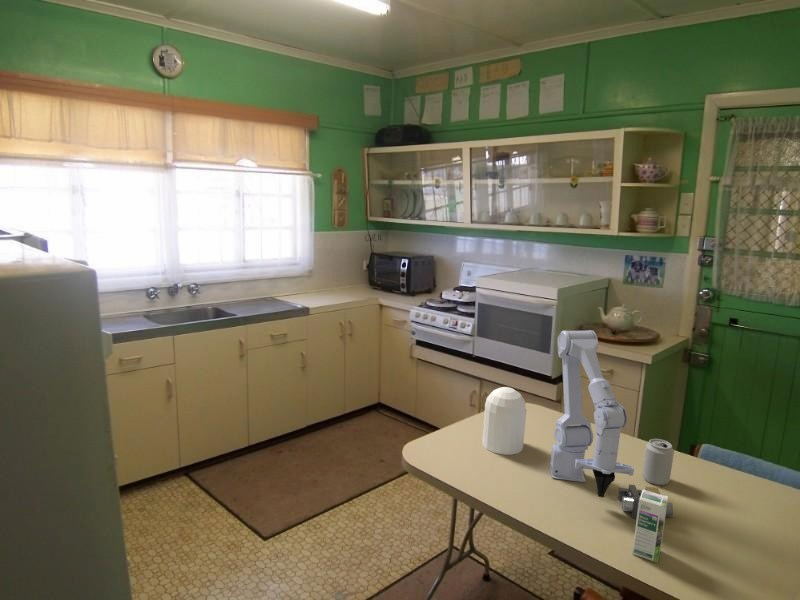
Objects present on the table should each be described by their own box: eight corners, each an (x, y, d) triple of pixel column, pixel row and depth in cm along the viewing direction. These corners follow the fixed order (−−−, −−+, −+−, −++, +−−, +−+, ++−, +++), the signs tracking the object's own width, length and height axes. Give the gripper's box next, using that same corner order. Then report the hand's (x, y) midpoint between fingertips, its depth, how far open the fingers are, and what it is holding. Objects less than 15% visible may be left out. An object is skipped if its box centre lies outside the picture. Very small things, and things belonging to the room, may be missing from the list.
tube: (623, 513, 144) (625, 501, 143) (620, 505, 147) (622, 493, 147) (672, 520, 142) (674, 507, 141) (667, 511, 145) (669, 499, 144)
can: (672, 488, 157) (678, 450, 155) (644, 484, 159) (650, 447, 156) (665, 475, 164) (670, 438, 162) (639, 472, 166) (644, 435, 163)
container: (474, 445, 179) (478, 388, 175) (494, 432, 190) (498, 378, 186) (511, 459, 171) (516, 399, 167) (529, 444, 182) (535, 388, 177)
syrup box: (631, 554, 128) (638, 499, 125) (635, 541, 133) (642, 487, 130) (657, 563, 125) (666, 507, 122) (660, 549, 130) (668, 495, 127)
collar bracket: (625, 517, 142) (628, 498, 141) (617, 497, 152) (620, 478, 151) (666, 523, 140) (669, 503, 139) (655, 502, 150) (658, 483, 149)
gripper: (579, 452, 141) (574, 499, 144) (638, 459, 138) (632, 507, 141) (576, 440, 147) (571, 485, 150) (632, 446, 145) (626, 492, 148)
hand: (600, 495), depth 146 cm, fingers closed
